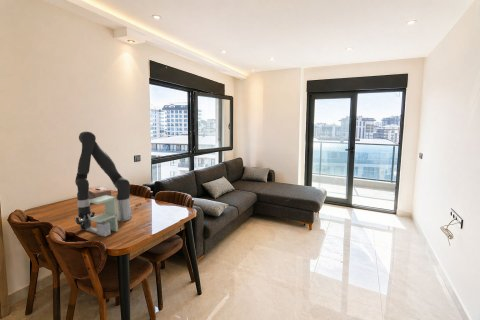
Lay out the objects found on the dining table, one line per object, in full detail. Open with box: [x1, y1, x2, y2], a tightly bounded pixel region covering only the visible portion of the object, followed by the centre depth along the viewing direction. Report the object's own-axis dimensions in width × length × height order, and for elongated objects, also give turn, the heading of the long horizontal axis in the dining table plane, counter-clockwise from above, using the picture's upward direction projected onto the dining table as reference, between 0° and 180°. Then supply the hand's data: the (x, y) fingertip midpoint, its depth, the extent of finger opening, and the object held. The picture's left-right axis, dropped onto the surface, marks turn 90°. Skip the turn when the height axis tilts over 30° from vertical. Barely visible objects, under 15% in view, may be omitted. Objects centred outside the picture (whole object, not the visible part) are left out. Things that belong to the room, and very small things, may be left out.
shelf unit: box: [88, 195, 119, 232], centre depth 172 cm, size 13×10×25 cm
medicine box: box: [96, 220, 112, 237], centre depth 171 cm, size 8×4×9 cm, turn 66°
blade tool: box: [80, 219, 98, 235], centre depth 177 cm, size 4×18×7 cm, turn 64°
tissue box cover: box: [88, 185, 112, 200], centre depth 251 cm, size 26×14×10 cm, turn 51°
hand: (85, 227), depth 180 cm, fingers closed on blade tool, 4 cm apart
